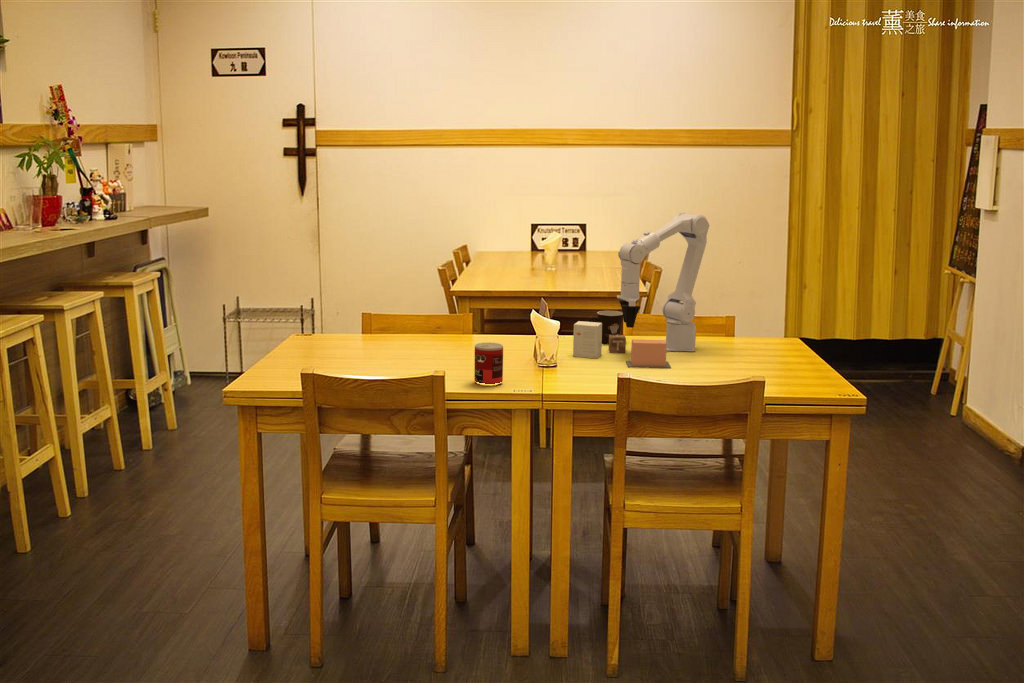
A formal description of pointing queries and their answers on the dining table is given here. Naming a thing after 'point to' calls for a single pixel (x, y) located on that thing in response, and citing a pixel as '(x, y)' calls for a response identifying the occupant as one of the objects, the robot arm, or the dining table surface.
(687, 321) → the robot arm
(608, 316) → the coffee mug
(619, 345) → the letter cube
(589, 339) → the small box
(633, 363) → the pink rectangular block
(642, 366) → the mat
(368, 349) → the dining table surface
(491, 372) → the canned food
